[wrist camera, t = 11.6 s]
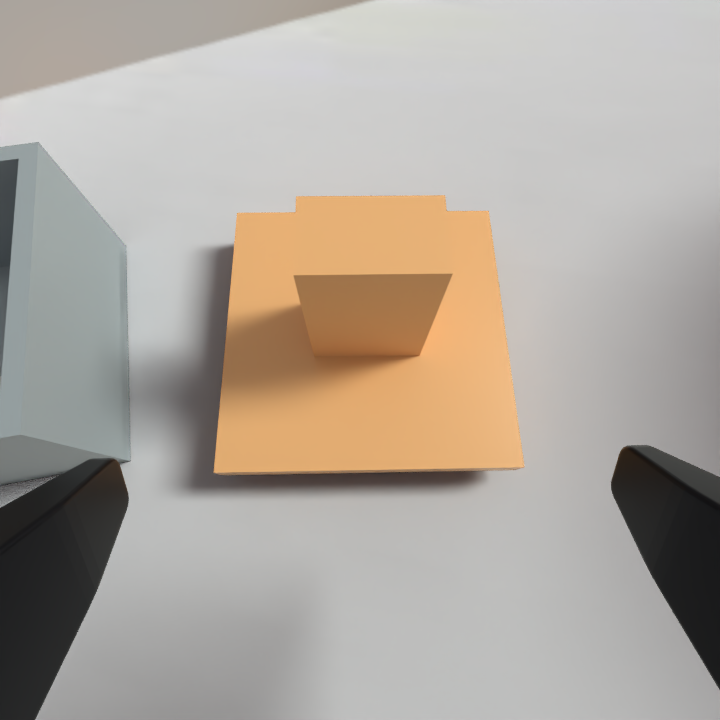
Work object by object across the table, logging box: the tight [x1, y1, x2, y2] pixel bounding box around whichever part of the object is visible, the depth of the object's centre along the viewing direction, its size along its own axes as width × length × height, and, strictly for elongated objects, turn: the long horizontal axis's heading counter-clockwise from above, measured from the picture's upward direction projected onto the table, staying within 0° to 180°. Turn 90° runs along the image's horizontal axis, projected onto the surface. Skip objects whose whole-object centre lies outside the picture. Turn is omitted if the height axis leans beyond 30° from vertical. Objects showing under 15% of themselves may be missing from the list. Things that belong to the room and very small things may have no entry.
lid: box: [214, 195, 524, 475], centre depth 15 cm, size 11×11×8 cm
